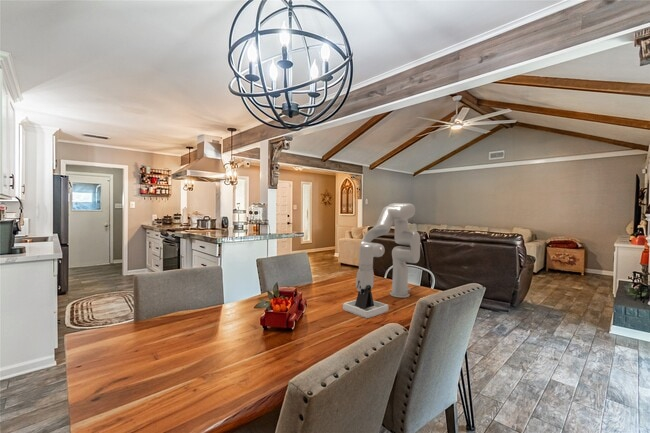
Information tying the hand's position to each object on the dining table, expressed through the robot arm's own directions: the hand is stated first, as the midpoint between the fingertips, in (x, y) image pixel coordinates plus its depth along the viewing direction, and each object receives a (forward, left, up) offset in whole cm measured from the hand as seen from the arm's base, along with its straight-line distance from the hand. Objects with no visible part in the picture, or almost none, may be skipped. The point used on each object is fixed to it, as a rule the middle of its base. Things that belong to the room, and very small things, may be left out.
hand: (364, 300), depth 163 cm
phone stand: (0, 0, -3) cm, 3 cm away
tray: (-1, 0, -6) cm, 6 cm away
